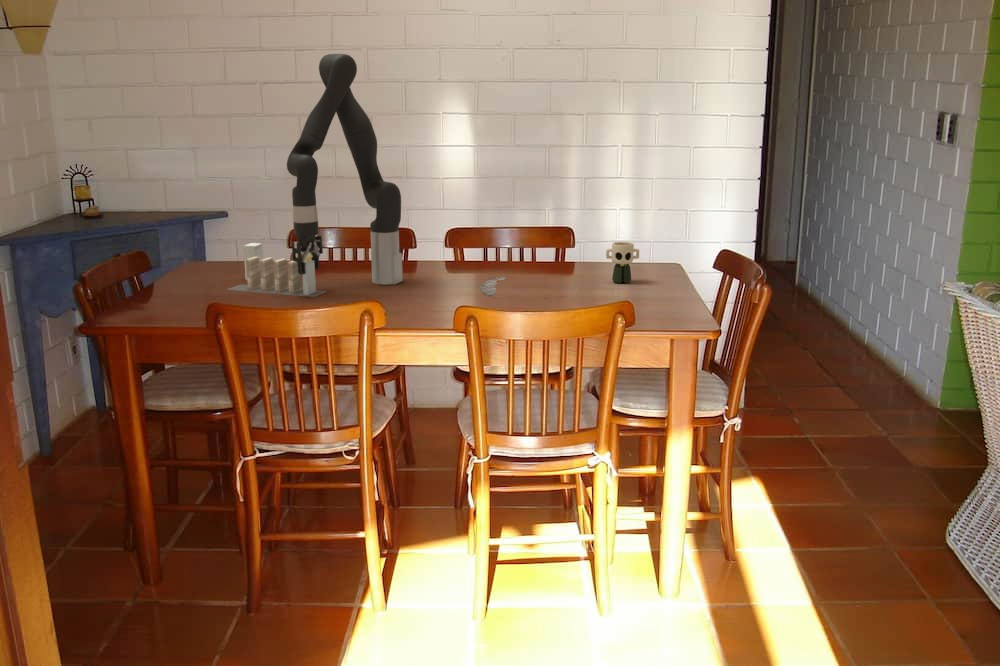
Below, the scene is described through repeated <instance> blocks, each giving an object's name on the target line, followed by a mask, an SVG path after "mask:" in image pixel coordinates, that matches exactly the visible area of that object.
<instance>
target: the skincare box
mask: <svg viewBox="0 0 1000 666" xmlns="http://www.w3.org/2000/svg"><path fill="white" fill-rule="evenodd" d="M242 249H243V261H244V262H243V263H244V278H245V281H248V280H247V267H246V259H248V258H252V257H259V262H260V260H262V259H264V254H263V253H264V251H263V243H262V242H261V243H259V242H250V243H247V244H245V245H243V247H242ZM260 276H261V273H260Z"/></svg>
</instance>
